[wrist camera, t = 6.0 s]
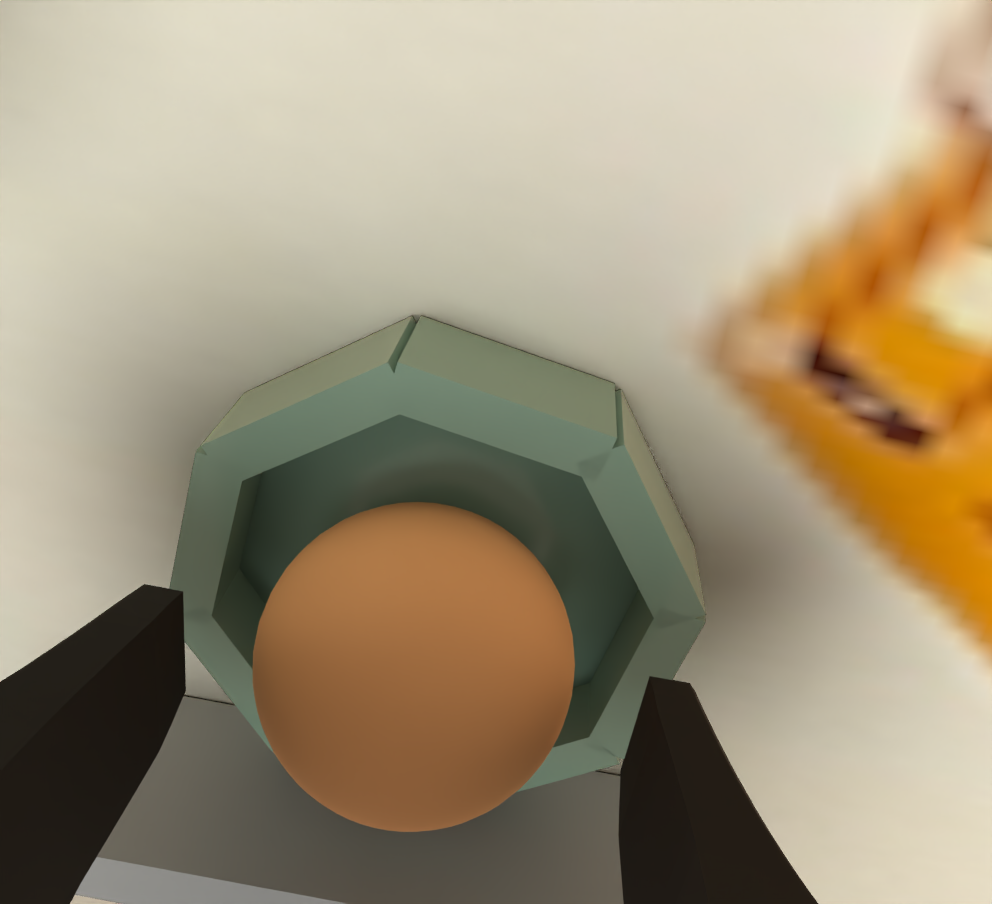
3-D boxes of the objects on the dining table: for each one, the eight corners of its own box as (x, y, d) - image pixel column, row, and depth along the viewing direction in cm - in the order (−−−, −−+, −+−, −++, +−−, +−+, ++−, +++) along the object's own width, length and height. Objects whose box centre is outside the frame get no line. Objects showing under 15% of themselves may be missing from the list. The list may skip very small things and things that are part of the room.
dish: (743, 649, 17) (759, 725, 16) (364, 762, 20) (341, 840, 18) (555, 249, 14) (550, 289, 12) (129, 445, 17) (74, 501, 15)
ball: (618, 632, 17) (627, 867, 12) (384, 701, 18) (318, 935, 14) (507, 405, 15) (469, 588, 10) (254, 502, 16) (127, 700, 12)
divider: (693, 789, 19) (714, 972, 16) (679, 826, 20) (697, 1011, 16) (52, 671, 19) (-67, 826, 16) (57, 712, 20) (-58, 870, 17)
